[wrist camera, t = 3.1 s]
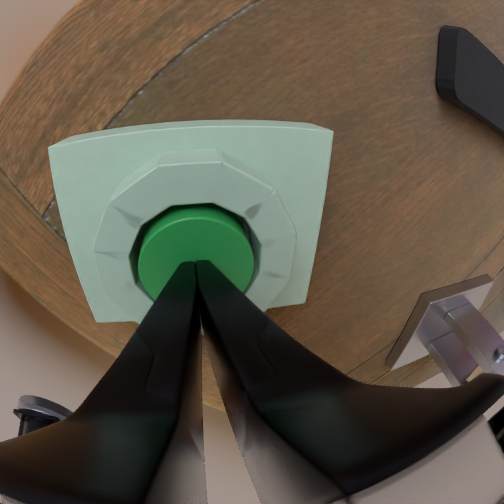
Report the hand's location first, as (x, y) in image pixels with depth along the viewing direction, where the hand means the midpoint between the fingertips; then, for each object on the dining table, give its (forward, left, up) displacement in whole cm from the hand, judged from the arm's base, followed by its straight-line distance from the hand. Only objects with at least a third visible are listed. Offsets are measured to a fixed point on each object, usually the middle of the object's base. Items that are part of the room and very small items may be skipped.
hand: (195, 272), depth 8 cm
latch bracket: (+23, -12, -4) cm, 26 cm away
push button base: (0, 0, -4) cm, 4 cm away
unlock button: (0, 0, -2) cm, 2 cm away
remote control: (+20, +9, -4) cm, 22 cm away
